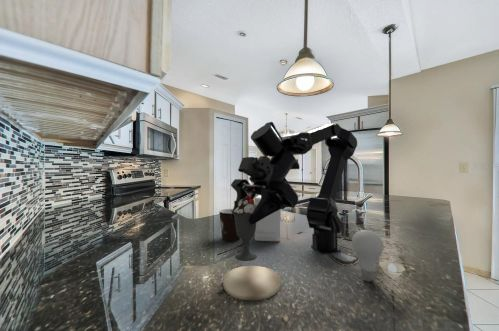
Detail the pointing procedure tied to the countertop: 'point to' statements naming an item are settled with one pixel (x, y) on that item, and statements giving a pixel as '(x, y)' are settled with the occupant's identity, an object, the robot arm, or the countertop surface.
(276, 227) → the supplement box
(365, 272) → the lightbulb
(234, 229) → the coffee mug
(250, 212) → the sundae
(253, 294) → the coaster
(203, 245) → the countertop surface
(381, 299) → the countertop surface
